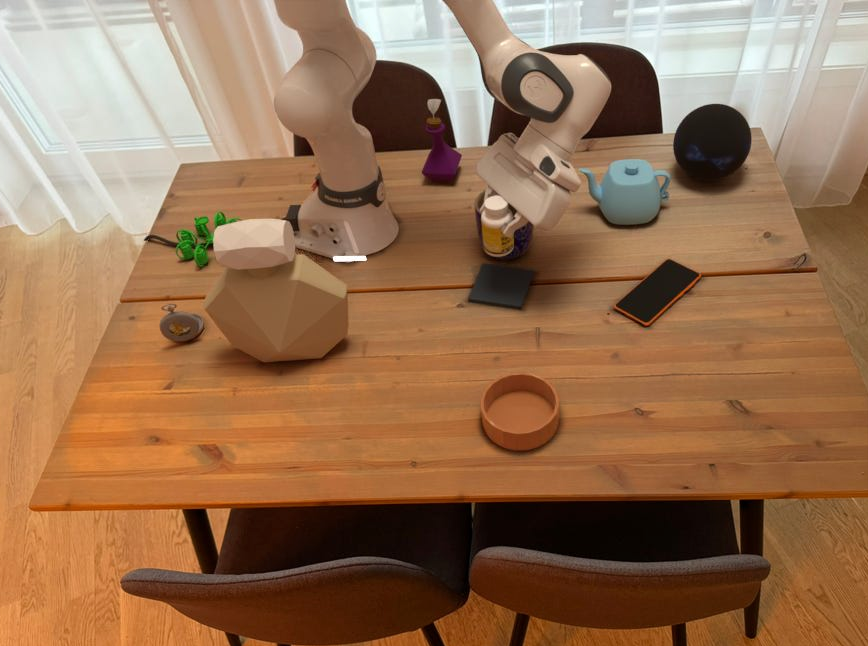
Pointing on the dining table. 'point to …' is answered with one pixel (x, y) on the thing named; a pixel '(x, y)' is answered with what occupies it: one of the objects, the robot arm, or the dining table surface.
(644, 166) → the teapot
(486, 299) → the mat
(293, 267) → the faceted beige jar
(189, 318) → the pocket watch
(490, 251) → the supplement bottle
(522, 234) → the planter
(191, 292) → the dining table surface
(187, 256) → the chandelier
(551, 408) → the round wooden tray
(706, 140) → the decorative sphere
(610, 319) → the dining table surface
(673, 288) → the smartphone
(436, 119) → the perfume bottle
